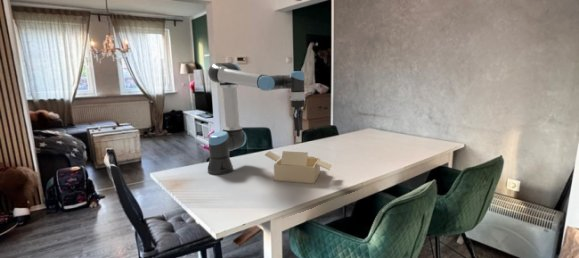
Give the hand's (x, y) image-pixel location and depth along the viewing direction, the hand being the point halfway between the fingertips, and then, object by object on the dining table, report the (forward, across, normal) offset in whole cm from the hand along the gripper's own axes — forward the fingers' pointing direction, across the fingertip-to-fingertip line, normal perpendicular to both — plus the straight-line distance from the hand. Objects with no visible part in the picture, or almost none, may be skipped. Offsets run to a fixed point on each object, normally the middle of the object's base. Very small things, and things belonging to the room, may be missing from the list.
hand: (298, 141), depth 175 cm
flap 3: (+12, +11, 0) cm, 16 cm away
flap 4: (+12, -2, -15) cm, 19 cm away
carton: (+20, -2, 0) cm, 20 cm away
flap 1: (+8, -2, +15) cm, 17 cm away
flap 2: (+7, -9, 0) cm, 11 cm away
